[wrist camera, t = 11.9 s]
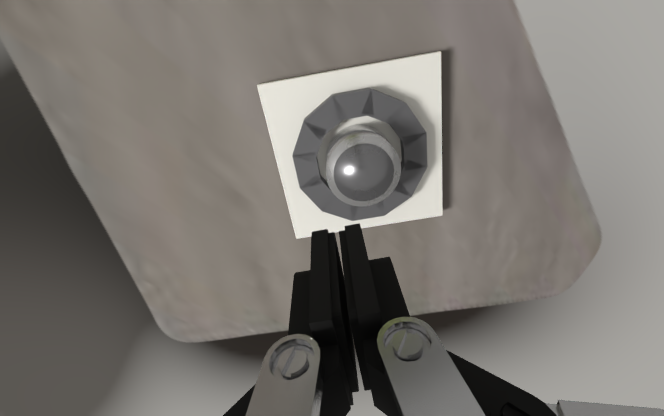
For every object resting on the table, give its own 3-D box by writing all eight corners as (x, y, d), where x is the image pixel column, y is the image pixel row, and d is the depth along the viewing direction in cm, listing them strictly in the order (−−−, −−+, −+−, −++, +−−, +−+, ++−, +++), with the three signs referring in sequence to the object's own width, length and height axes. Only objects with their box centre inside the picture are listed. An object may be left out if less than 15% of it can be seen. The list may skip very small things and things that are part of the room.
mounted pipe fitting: (259, 83, 27) (254, 86, 25) (436, 51, 26) (446, 51, 24) (297, 232, 34) (295, 245, 31) (438, 210, 33) (446, 221, 31)
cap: (320, 129, 28) (320, 142, 24) (389, 119, 27) (400, 130, 24) (330, 191, 30) (331, 212, 27) (393, 182, 30) (403, 202, 26)
